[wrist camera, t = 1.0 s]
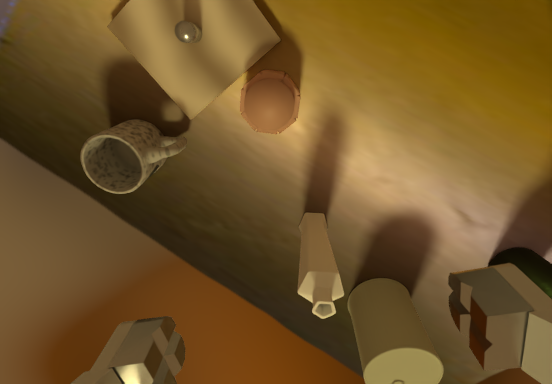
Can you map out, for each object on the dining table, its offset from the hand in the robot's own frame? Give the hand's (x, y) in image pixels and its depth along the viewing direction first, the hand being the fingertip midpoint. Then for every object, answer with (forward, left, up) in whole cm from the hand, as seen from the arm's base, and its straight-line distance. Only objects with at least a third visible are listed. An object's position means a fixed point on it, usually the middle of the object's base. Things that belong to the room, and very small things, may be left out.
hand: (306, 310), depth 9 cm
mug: (+16, -8, -30) cm, 34 cm away
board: (+3, -13, -29) cm, 32 cm away
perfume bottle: (+7, +13, -29) cm, 33 cm away
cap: (+1, -3, -29) cm, 29 cm away
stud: (+3, -13, -28) cm, 31 cm away
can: (+7, +30, -30) cm, 43 cm away
